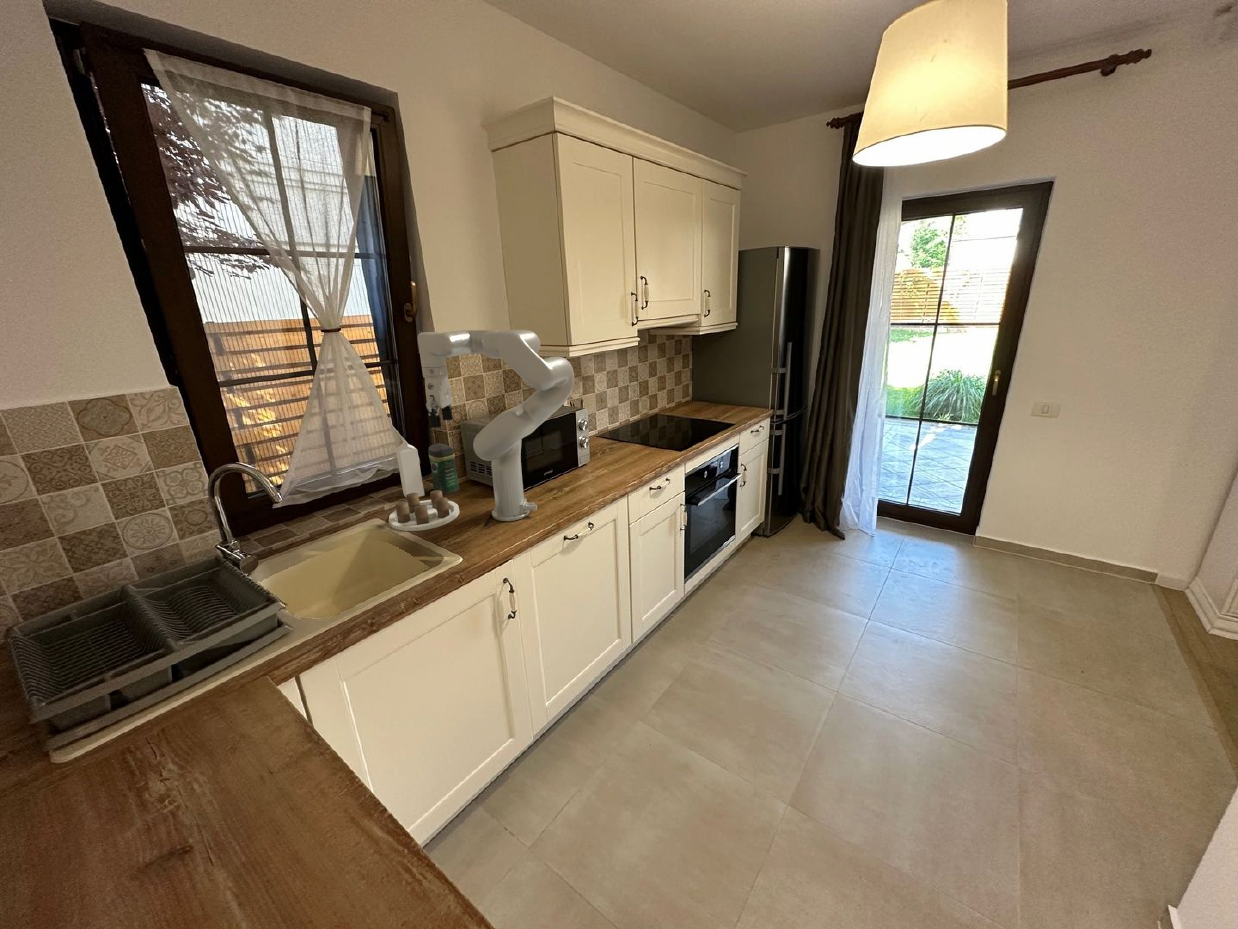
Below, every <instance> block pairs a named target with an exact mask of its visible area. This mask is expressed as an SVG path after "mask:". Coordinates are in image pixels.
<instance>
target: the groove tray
mask: <svg viewBox="0 0 1238 929" xmlns="http://www.w3.org/2000/svg"><path fill="white" fill-rule="evenodd" d="M419 502H420V505H426V506H427V511H428V517H429V523H428V524H421V525H417V523H416V517H415V512H414V513H410V518H411V520H410V521H409V522H407V523H399V522H398V518H397V512H396V509H395V510H394V511H393V512H392V513H390V514H389V518H388V524H389V526H391V528H393V529H395V530H398V531H405V532H418V531H426V530H431V529H435V528H438V527H441V526H444V525H446V524H448V523H450V522H452V521H454V520H455V519H456V518H458V516H459V514H460V508H459V504H457V503H456V502H454V501H451V500H448V506H449V512H450V515H449V516H447V517H445V518H438V514H437V510H436V509H434V508H432V502H431V499H427V500H425V499H424V500H419Z"/></svg>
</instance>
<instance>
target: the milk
mask: <svg viewBox="0 0 1238 929" xmlns="http://www.w3.org/2000/svg"><path fill="white" fill-rule="evenodd" d="M395 453H396V457H397V458H396V459H397V464H398V470H399V474H400V475H399V476H400V481H401V487H402V492H403V495H404V497H405V498H406V495H407V494H409V493H418V496H419V498H420V497H424V496H425V490H424V484H423V476H422V472H421V471H422V470H421V466H420V458H419V454H418V453H419V452H418V449H417V448H416V447H415V446H413V445H411V444H408V442H407V441H406V440H405V439H403V438H402V443H401V444H400V445H399V446H398V447H396V448H395Z"/></svg>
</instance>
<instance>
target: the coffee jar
mask: <svg viewBox="0 0 1238 929" xmlns="http://www.w3.org/2000/svg"><path fill="white" fill-rule="evenodd" d="M455 454H456V453H455V451H454V447H453V446H450V445H448V444H443V443H434V444H430V446H429V447H428V458H429V462H430V468H431V476H432V485H433V491H435V490H441V491H442V495H448V494H451V493H455V492H458V491H459V490H460V485H459V478H458V473H457V468H456V461H455V458H456V457H455Z"/></svg>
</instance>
